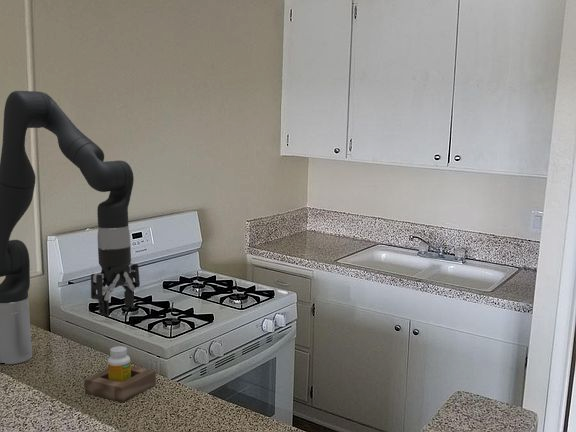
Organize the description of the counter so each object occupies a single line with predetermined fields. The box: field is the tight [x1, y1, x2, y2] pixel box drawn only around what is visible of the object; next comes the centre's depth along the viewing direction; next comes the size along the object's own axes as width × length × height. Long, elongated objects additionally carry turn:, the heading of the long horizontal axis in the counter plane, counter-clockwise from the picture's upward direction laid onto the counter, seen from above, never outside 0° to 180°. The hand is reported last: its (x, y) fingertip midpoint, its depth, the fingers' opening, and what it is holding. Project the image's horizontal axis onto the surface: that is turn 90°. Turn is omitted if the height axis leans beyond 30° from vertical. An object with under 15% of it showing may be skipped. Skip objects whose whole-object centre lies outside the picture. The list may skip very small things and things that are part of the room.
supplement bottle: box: [107, 345, 132, 382], centre depth 163 cm, size 5×5×10 cm
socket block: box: [83, 365, 157, 403], centre depth 164 cm, size 12×12×4 cm
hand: (117, 310), depth 161 cm, fingers open, 8 cm apart
